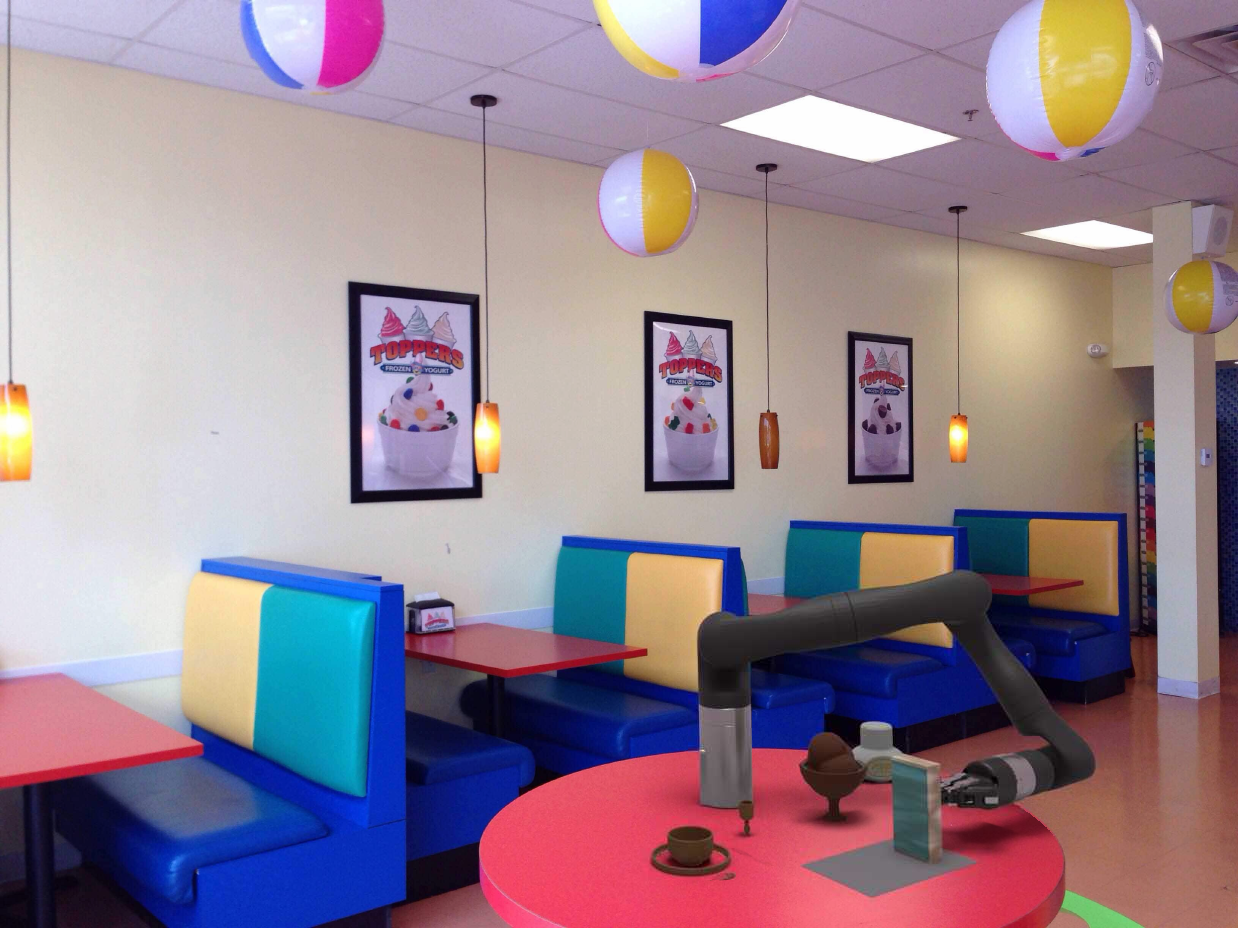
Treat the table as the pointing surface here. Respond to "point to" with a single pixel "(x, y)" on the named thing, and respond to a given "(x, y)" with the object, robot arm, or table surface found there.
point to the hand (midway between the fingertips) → (924, 800)
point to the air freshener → (876, 750)
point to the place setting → (698, 846)
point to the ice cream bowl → (832, 772)
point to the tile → (917, 807)
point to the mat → (883, 868)
